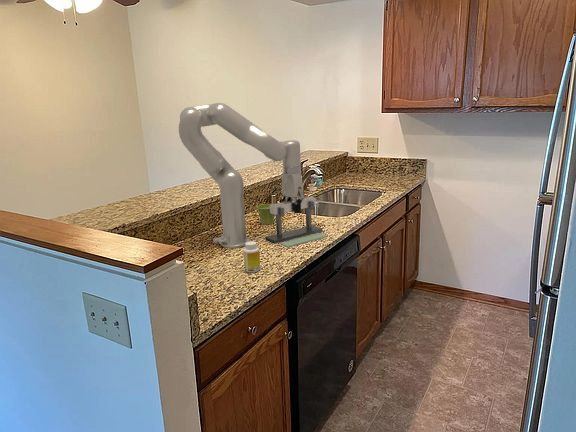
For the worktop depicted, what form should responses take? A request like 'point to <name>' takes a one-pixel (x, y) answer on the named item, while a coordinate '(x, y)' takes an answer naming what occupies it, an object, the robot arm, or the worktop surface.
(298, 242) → the rubber mat
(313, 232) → the hook rack
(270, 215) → the plant pot
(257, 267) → the supplement bottle
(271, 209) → the pale grey bar
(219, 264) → the worktop surface
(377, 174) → the worktop surface
